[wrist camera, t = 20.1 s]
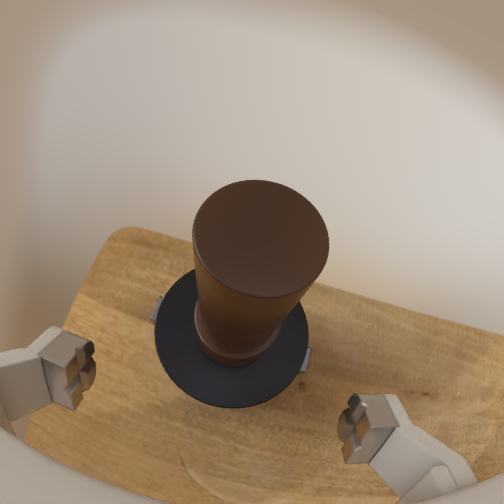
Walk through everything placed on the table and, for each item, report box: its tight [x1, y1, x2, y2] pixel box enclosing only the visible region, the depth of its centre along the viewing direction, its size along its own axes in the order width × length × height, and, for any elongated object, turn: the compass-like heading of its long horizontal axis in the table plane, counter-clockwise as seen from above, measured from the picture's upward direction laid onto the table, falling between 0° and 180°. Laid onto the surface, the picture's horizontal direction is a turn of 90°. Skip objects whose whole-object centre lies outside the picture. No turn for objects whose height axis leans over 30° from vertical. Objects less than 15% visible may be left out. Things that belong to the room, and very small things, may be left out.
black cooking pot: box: [150, 269, 312, 408], centre depth 20 cm, size 10×9×9 cm
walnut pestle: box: [192, 180, 329, 367], centre depth 12 cm, size 4×4×10 cm
